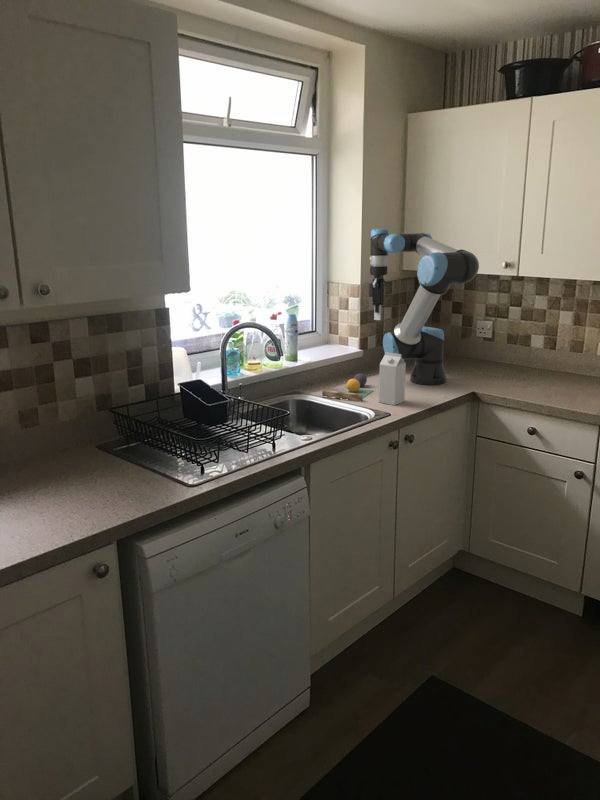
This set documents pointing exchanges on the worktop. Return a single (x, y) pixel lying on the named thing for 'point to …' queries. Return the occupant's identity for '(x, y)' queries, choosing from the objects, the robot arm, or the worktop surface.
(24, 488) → the worktop surface
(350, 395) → the rail
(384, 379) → the milk carton
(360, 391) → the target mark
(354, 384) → the object ball
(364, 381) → the dark gray ball
